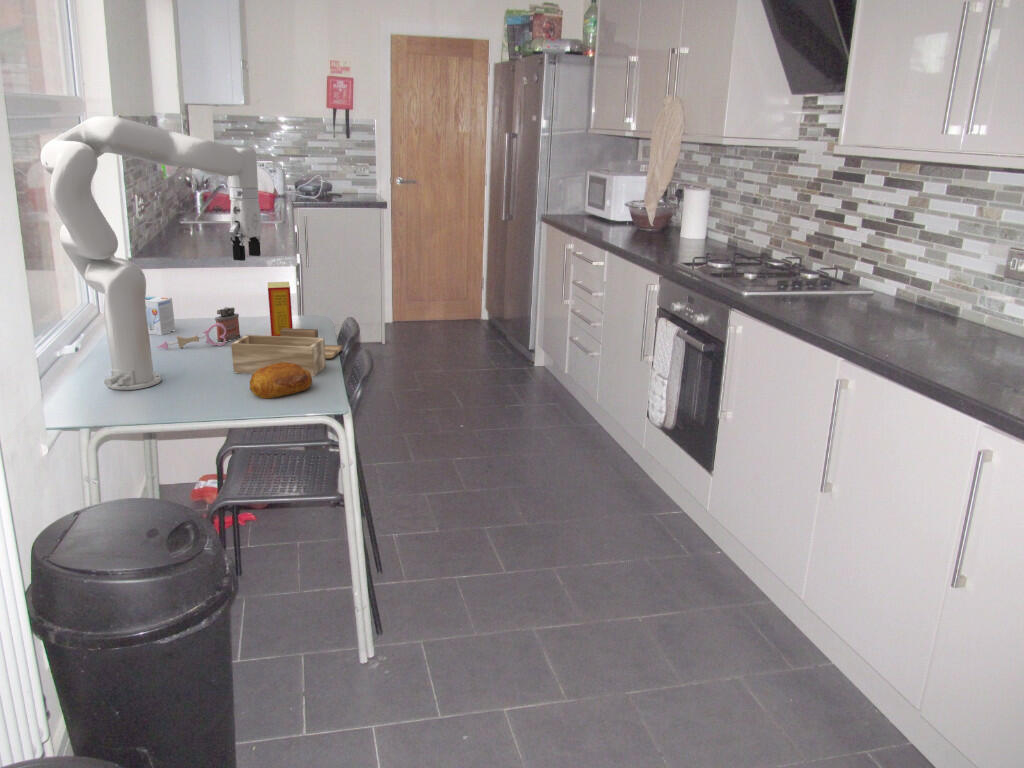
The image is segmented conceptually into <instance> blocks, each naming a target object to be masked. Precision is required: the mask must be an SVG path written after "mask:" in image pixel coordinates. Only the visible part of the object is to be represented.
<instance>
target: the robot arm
mask: <svg viewBox="0 0 1024 768" xmlns="http://www.w3.org/2000/svg"><path fill="white" fill-rule="evenodd" d="M105 153H107V154H114V155H119V156H123V157H127V158H132V159H136V160H141V161H145V162H149V163H153V164H157V165H161V166H168V167H176V168H189V169H195V170H199V171H200V172H202V173H203V174H205V175H206V174H207V175H210V176H222V177H227V178H228V180H227V181H228V195H229V198H228V199H229V201H230V229H229V230H228V231H229V236H230V241H231V246H232V259H233V261H242V262H244V261H246V247H245V245H244V243H245V239H246V238H247V239H249V240H248V241H247V245H248V255H249V257H251V256H252V257H260V256H261V235H262V233H263V225H262V224H263V223H262V215H261V208H260V202H259V183H258V182H259V180H258V178H259V177H258V164H257V163H258V160H257V159H258V158H257V152H256V149H254V148H252V147H249V146H231V145H228V144H223V143H219V142H216V141H213V140H208V139H204V138H201V137H200V138H199V137H195V136H192V135H191V136H190V135H187V134H184V133H180V132H176V131H174V130H173V131H172V130H169V129H165V128H160V127H157V126H152V125H149V124H145V123H141V122H138V121H134V120H131V119H127V118H123V117H119V116H113V115H112V116H111V115H110V116H109V115H107V116H106V115H97V116H93V117H90V118H87V119H86V120H84V121H82V122H80V123H78V124H77V125H76V126H74V127H72V128H70V129H68V130H67V131H65V132H63V133H62V134H60V135H58V136H56V137H54V138H52V139H51V140H50V141H48V142H47V143H46V144H45V145H44V146H43V147H42V150H41V152H40V162H41V164H42V167H43V168H44V170H46V172H48V173H49V174H51V178H50V179H51V180H50V187H49V194H50V195H49V196H50V200H51V202H52V205H53V207H54V209H55V210H56V213H57V215H58V216H59V218H60V220H61V221H62V223H63V224H62V225H61V227H60V230H59V231H60V232H59V240H60V244H61V246H62V249H63V250H64V252H65V253H66V254H67V256H68V258H69V259H70V260H71V263H72V264H73V265H74V267H75V269H76V270H77V271H78V273H79V275H80V276H81V278H82V279H83V281H84V282H85V283H86V284H87V285H88V286H89V287H90V288H91V289H92V290H94V291H96V292H98V293H101V294H104V305H103V306H104V307H103V308H104V309H103V315H104V318H103V319H104V324H105V328H106V329H105V330H106V336H107V345H108V352H109V358H110V359H109V360H110V364H111V371H110V373H111V376H110V377H108V378H106V379H104V381H103V382H104V383H103V384H104V386H105V387H108V388H110V389H113V390H117V391H129V390H132V391H133V390H140V389H141V390H142V389H146V388H149V387H153V386H156V385H157V384H159V383H161V381H162V375H161V374H159V373H157V372H155V371H154V365H153V364H154V362H153V354H152V348H151V339H150V334H149V330H148V322H147V315H146V303H145V297H146V296H147V294H146V292H147V280H146V276H145V273H144V271H143V270H142V268H140V266H138V265H137V264H136V263H134V262H133V261H131V260H127V259H125V258H121V257H117V256H115V254H116V252H117V251H118V248H119V241H118V237H117V235H116V233H115V230H114V229H113V228H112V226H111V224H110V223H109V221H108V220H107V218H106V216H105V215H104V213H103V212H102V211H101V209H100V207H99V206H98V204H97V201H96V200H95V198H94V195H93V192H92V183H93V182H92V181H93V180H94V175H95V174H96V171H97V170H98V164H99V163H98V158H100V157H101V156H102V155H104V154H105Z"/></svg>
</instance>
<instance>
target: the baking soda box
mask: <svg viewBox="0 0 1024 768" xmlns="http://www.w3.org/2000/svg"><path fill="white" fill-rule="evenodd" d="M267 293H268V294H267V295H268V307H269V308H268V309H269V317H270V318H269V321H270V322H269V323H270V336H281V334H280V330H282V329H283V328H293V329H294V327H293V313H292V297H291V296H292V295H291V285H290V281H278V282H277V281H275V282H274V281H273V282H272V281H270V282H267Z"/></svg>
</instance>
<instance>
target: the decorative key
mask: <svg viewBox="0 0 1024 768" xmlns="http://www.w3.org/2000/svg"><path fill="white" fill-rule="evenodd" d="M216 326H221V327H222V328H223V329H224V331H225V332H224V334H223V335H221V336H220V337H221V338H223V339H224V342H222V343H218V342H217V343H216V342H215V341H213V340H212V339H211V337H210V332H211V330H213V329H214V328H216ZM202 333H203V334H204V335H201V336H198V334H196V335H195V336H192V337H183V336H179V335H177V336H176V340H177V341H174V342H169V343H168V342H167V340H164V341H163V342H162V343H161V344H159V345H158V346H157V348H161V349H166V350H169V349H168V348H169V346H173V345H178V346H179V349H180V348H181V349H183V347H184V346H186V345H188V344H190V343H193V342H200V340H201V339H205V338H206V340H205V343H207V344H211V345H213V346H215V345H222V346H224V345H225V344H226V343H227V342H226V338H225V337H224V336H225V334H226V328H225V327H224V325H222V324H219V323H216V322H215V323H213V324H212V325H210V326H209V328H206V329H205V330H204V331H202Z"/></svg>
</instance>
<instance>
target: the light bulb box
mask: <svg viewBox="0 0 1024 768" xmlns="http://www.w3.org/2000/svg"><path fill="white" fill-rule="evenodd" d="M145 303H146V315H147V322H148V330H149V335H154V336H164V335H166V334H165V333H167V334H169V333H168V332H170V333H172V332H171V331H173V330H175V331H176V325H175V324H176V323H175V317H174V316H175V315H174V307H173V298H172V297H163V296H153V295H152V296H151V295H146V297H145ZM173 332H174V331H173ZM155 334H156V335H155ZM163 334H164V335H163Z"/></svg>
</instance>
